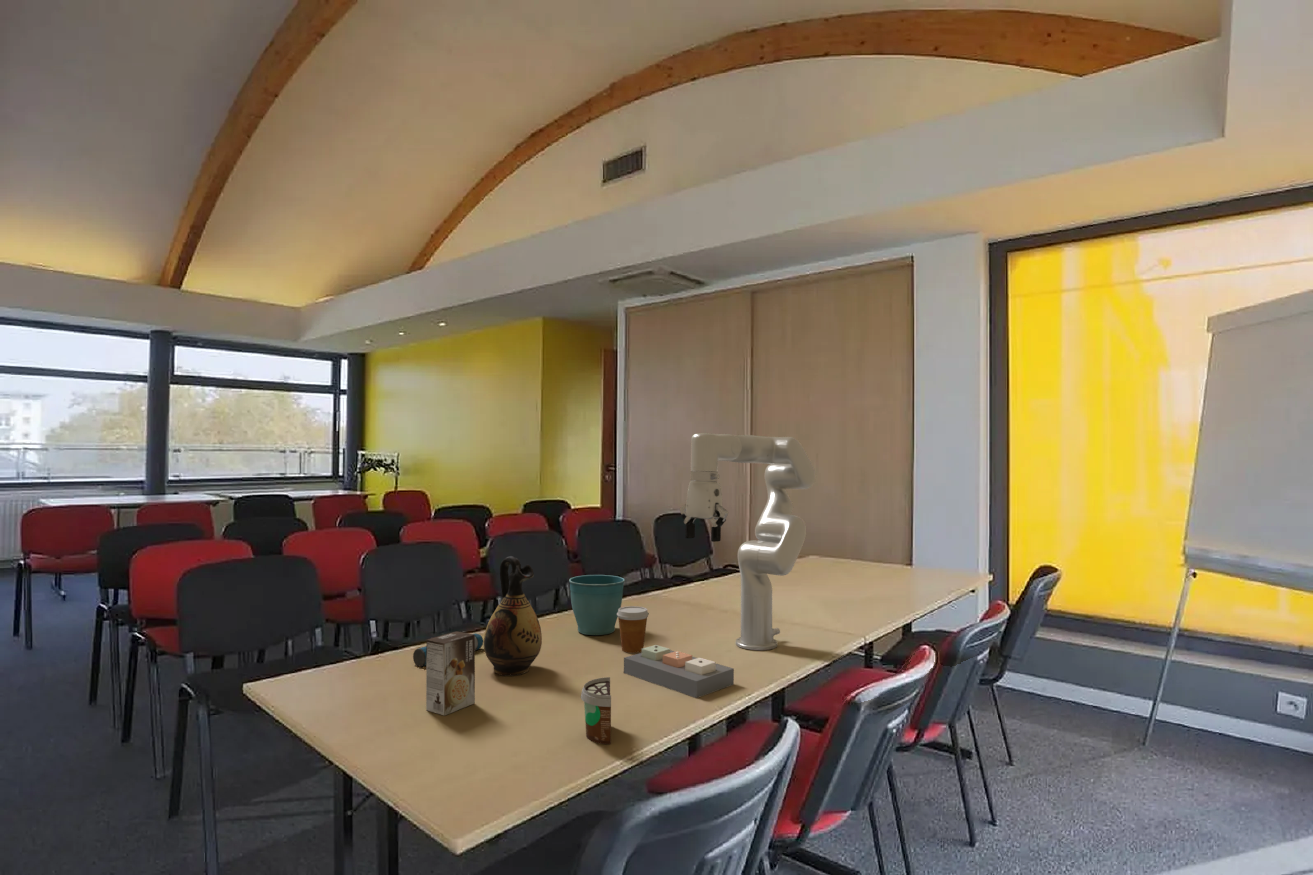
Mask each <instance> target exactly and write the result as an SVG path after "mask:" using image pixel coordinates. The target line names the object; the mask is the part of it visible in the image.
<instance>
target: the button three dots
mask: <svg viewBox="0 0 1313 875" xmlns="http://www.w3.org/2000/svg"><path fill="white" fill-rule="evenodd" d="M674 651H675V650H674ZM692 657H693V655H692V654H690V653H689V654H688V653H687V652H683V651H679V650H676V651H675V652H672V653H668V654H665V655H663V664H666V665H669V666H673V667H676V668H680V667H683V666H685V662H687V661H690V660H692Z"/></svg>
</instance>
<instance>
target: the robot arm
mask: <svg viewBox="0 0 1313 875" xmlns="http://www.w3.org/2000/svg"><path fill="white" fill-rule="evenodd" d="M690 444H691V445H690V480H689V481H690V482H689V483H688V487H687V493H686V500H685V501H686V503H685V504H684V505H681V507H679V512H680V514H681V518H682V520H683V523H684V525H685V531H684V532H685V539H695V537H696V536H695V534H696V533H695V532H696V525H695V524H696V523H694V522H695V520H697V519H700V520H701V519H702V520H709V521H710V523H711V524H712V526H711V529H710V530H711V532H710V533H711V534H710V541H711V542H712V543H714V542H720V541H721V540H722V539H721V536H722V534H721V533H722V532H721V531H722V527H723V526H724V523H725V522H726V521H727V518H728V515H729V510H728V509H726V508H725V507H723V497H722V495H723V494H722V488H721V484H720V483H718V480H719V479H720V474H719V473H718V470H719V468H718V467H719V463H718V462H729V463H730V462H732V463H738V464H739V463H741V464H763V465H765V464H767V466H766V467H765V470H764V482H765V487H766V492H767V501H766V503H765V506H764V508H763V510H762V512H761V514H760V517H759V518H758V521H757V522H756V525H755V527H754V535H755V537H756V539H757V540H753V539H752V540H746V541H745V542H743V543H742V544H741V545H740V546H739V548H738V549H737V555H736V556H737V563H738V568H739V574H740V637H738V638H736V639H735V645H736V646H737V647H739V648H742V649H745V650H751V651H766V650H767V651H769V650H773V649H775V648H776V647H777V646H778V641H777V640H776V638H775V639H774V637H775V636H777V635H780V633H781V629H780V628H779V627H775V628H773V586H772V581H771V580H770V578H769V577H770V576H769V575H772V576H780V577H781V576H783V577H784V576H786V575H788V574H789V573H790V572H792V570H793V567H794V566H795V564H796V561H797V559H798V558H799V555H800V552H801V551H802V548H803V545H804V542H805V541H806V536H807V526H806V521H804V519H803V518H802V517H800V516H799V515H794V514H792V513H793V509H794V504H793V501H792V499H791V497H790V496H789V494H788V491H787V489H788V490H789V489H790V490H809V489H810V488H812V487H813V486H814V485H815V483H816V478H817V472H816V470H815V466H814V464H813V462H812V460H811V459H810V457H809V455H808V454H807V451H806V450H805V448H804V446H803V444H801V442H800V441H799V439H797V438H795V437H793V436H780V437H779V436H765V435H763V436H762V435H753V434H742V435H741V434H740V435H739V434H738V435H734V434H730V433H721V434H720V433H708V432H707V433H706V432H701V433H700V432H699V433H694V434H693V435H692V436H691V440H690Z"/></svg>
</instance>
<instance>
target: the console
mask: <svg viewBox="0 0 1313 875" xmlns="http://www.w3.org/2000/svg"><path fill="white" fill-rule="evenodd" d="M672 652H675V650H671V649H670V653H672ZM696 658H697V657H695V656H692V660H693V659H696ZM734 669H735V668H733V667H729V666H726V665H722V664H718V663H716V671H713V672H710V673H707V674H704V675H698V674H695V673H692V672H689V671H685V666H683V667H680V668H676V667H673V666H669V665H666V664H663V659H661V660H658V661H654V660H650V659H647V658H644V657H642V652H638V653H635V654H632V655H628V656H625V657H623V674H625V675H628V676H632V677H634V678H637V679H640V680H643V681H646V682H648V683H652V684H655V685H658V686H660V687H662V688H663V687H664V688H666V689H669V690H672V691H675V692H678V693H681V694H683V695H686V696H689V697H693V698H695V699H697V698H701V697H703V696H706V695H708V694H713V692H717V691H720V690H722V689H726V688H729V687H731V686H733V685H734V684H735V677H734V676H735V674H734V673H735V672H734V671H735V670H734Z"/></svg>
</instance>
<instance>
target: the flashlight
mask: <svg viewBox="0 0 1313 875" xmlns="http://www.w3.org/2000/svg"><path fill="white" fill-rule="evenodd" d="M473 634H474V635H475V652H476V651H477V650H480V649H481V648H482V646H484V642H483V641H484V638H483V636H482V635H481V634H479V633H475V632H474V633H473ZM412 658H413V663H414V664H415V666H416V667H419V668H420V667H425V666H426V645H425V646H422V647H419V648H416V649H415V650H414V651H413V654H412Z"/></svg>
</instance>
